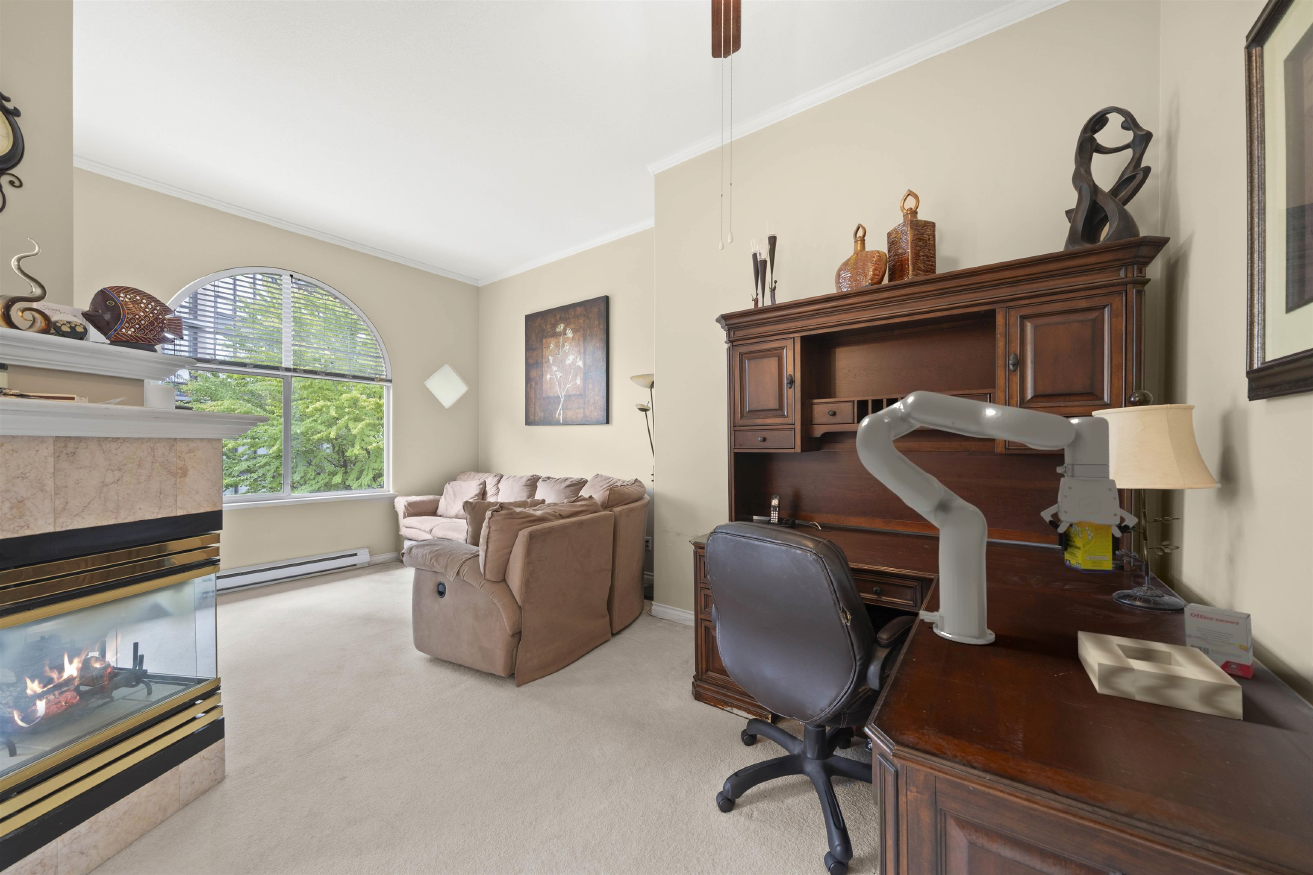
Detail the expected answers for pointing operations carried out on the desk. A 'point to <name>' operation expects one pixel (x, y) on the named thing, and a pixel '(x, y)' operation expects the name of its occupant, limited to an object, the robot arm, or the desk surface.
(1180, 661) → the well block
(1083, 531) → the supplement box
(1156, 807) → the desk surface
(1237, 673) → the ink box
